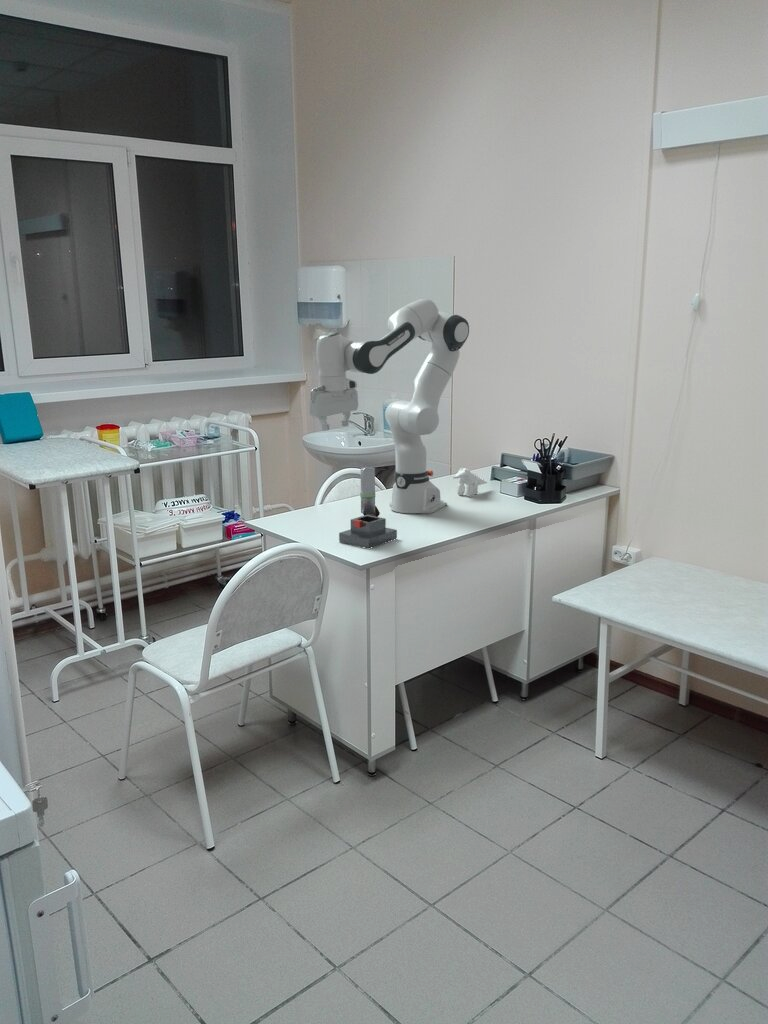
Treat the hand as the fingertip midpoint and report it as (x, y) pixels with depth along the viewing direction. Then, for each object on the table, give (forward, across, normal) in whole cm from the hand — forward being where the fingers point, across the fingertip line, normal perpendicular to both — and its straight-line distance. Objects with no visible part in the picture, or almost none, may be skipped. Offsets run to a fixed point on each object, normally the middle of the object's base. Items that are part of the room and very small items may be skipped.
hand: (335, 428), depth 263 cm
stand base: (+34, -6, -15) cm, 38 cm away
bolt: (+35, +10, -4) cm, 36 cm away
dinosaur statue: (+36, +69, -6) cm, 78 cm away
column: (+25, -6, -16) cm, 30 cm away
